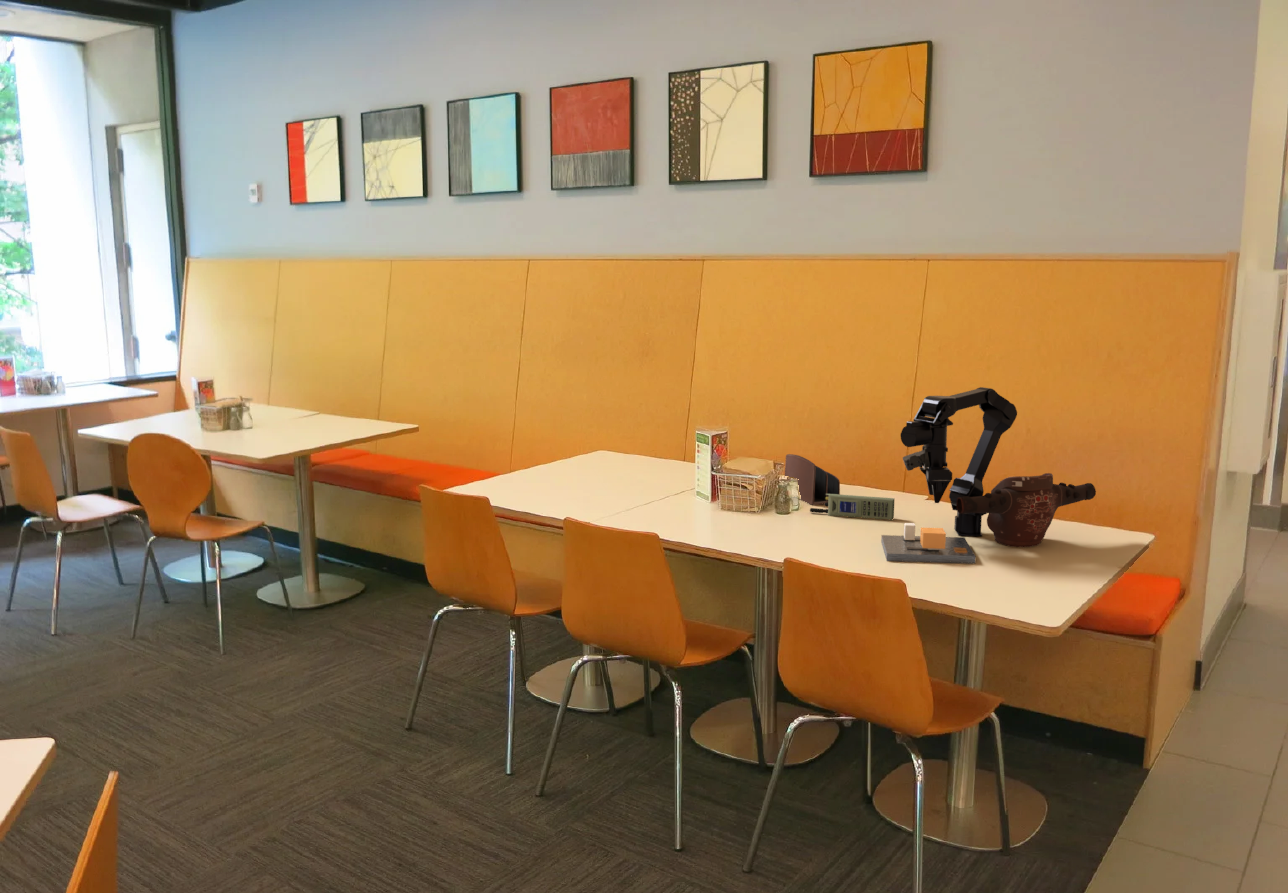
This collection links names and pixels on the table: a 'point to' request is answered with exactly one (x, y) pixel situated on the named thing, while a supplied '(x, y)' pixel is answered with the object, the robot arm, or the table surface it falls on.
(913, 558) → the breaker panel
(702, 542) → the table surface
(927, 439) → the robot arm
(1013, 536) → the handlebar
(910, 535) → the switch
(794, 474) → the letter holder
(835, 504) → the handheld radio
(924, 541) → the cap
